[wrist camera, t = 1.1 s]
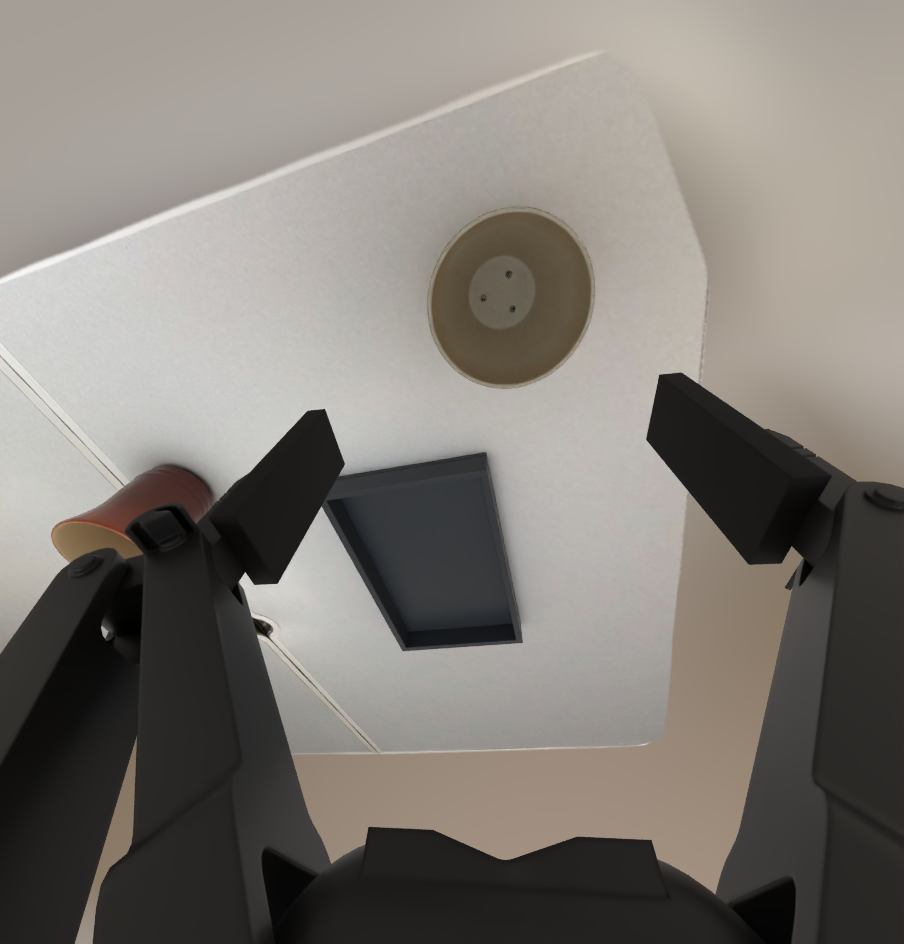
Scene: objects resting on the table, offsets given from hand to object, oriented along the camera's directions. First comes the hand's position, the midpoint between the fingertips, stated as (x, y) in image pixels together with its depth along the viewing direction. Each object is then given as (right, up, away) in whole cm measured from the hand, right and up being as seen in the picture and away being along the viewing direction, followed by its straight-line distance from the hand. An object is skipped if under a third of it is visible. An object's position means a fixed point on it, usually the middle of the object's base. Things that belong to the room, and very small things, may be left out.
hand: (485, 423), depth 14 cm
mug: (-31, -5, +27) cm, 42 cm away
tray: (-3, -13, +30) cm, 33 cm away
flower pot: (+3, +12, +13) cm, 18 cm away
